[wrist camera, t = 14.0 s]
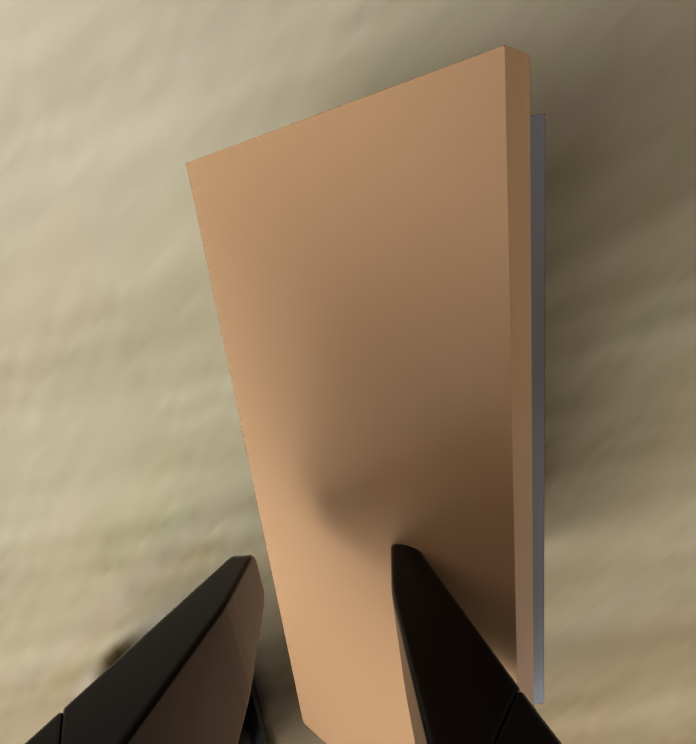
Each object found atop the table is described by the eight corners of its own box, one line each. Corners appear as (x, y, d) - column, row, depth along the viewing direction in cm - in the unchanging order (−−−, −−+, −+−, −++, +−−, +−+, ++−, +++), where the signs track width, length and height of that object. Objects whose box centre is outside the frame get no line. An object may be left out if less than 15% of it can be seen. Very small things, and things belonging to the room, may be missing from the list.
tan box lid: (534, 896, 9) (521, 928, 9) (318, 705, 14) (303, 722, 13) (530, 53, 5) (504, 45, 5) (213, 163, 9) (186, 163, 9)
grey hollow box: (495, 551, 19) (543, 703, 13) (340, 557, 20) (318, 703, 14) (482, 156, 15) (545, 113, 9) (283, 185, 15) (214, 163, 9)
